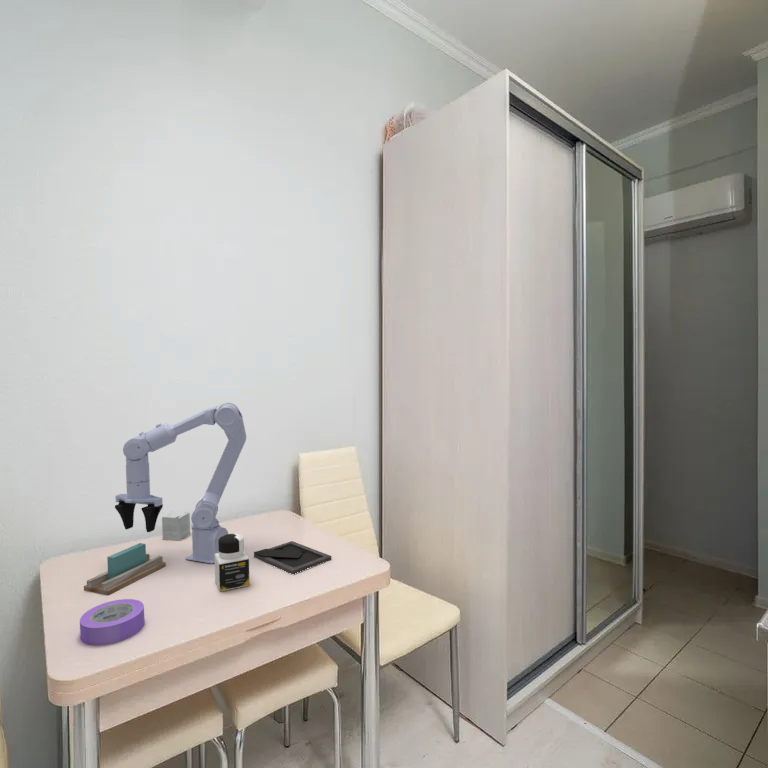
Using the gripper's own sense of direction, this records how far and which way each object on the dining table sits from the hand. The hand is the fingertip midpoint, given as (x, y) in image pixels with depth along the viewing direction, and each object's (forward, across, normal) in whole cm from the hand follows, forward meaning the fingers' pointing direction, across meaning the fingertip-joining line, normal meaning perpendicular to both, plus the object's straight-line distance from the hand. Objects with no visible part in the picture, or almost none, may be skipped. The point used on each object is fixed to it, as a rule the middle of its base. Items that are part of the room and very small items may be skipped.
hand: (139, 529), depth 137 cm
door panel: (+8, +4, -8) cm, 12 cm away
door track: (+9, +4, -8) cm, 13 cm away
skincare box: (+10, -6, +20) cm, 23 cm away
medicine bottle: (+10, +32, -3) cm, 34 cm away
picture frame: (+10, +38, +16) cm, 43 cm away
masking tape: (+10, +22, -29) cm, 37 cm away
